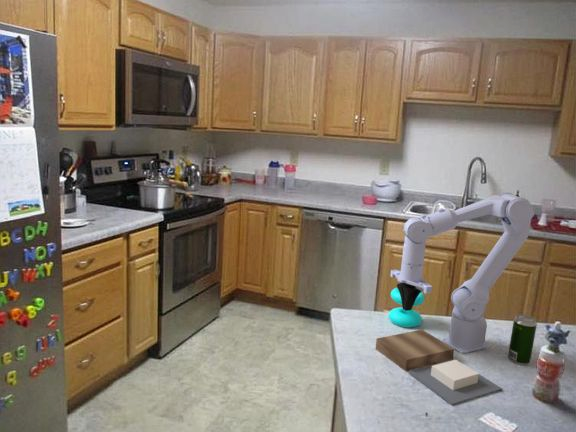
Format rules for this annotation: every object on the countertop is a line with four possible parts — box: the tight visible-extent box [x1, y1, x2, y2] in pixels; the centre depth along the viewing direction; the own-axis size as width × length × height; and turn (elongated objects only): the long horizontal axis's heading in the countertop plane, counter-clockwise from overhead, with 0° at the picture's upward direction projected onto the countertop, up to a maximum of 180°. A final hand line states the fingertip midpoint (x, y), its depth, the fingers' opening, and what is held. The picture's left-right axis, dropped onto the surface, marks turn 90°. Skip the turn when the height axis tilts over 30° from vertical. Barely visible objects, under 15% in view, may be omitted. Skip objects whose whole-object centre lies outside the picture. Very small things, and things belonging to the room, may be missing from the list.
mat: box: [408, 365, 503, 406], centre depth 109 cm, size 16×14×1 cm
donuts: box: [388, 287, 425, 328], centre depth 141 cm, size 10×10×10 cm
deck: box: [375, 329, 455, 372], centre depth 121 cm, size 16×12×3 cm
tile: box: [431, 359, 479, 390], centre depth 110 cm, size 8×7×2 cm
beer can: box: [507, 314, 537, 366], centre depth 120 cm, size 5×5×12 cm
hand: (407, 309), depth 127 cm, fingers closed
